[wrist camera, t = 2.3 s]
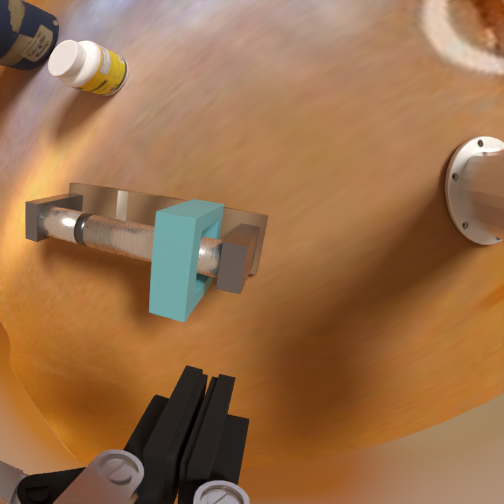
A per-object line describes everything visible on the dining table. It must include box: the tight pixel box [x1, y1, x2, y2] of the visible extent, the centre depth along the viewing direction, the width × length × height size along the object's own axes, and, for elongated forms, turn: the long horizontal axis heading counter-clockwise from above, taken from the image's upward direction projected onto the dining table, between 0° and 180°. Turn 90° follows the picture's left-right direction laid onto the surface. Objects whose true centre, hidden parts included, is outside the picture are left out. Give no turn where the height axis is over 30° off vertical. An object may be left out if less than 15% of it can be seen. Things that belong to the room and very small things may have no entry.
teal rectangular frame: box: [149, 199, 224, 322], centre depth 26 cm, size 3×8×9 cm, turn 170°
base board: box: [69, 183, 268, 275], centre depth 34 cm, size 25×6×1 cm, turn 80°
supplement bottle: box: [48, 40, 129, 96], centre depth 26 cm, size 5×5×10 cm
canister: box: [0, 0, 59, 70], centre depth 21 cm, size 10×10×18 cm
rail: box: [26, 193, 260, 294], centre depth 30 cm, size 24×4×9 cm, turn 80°
